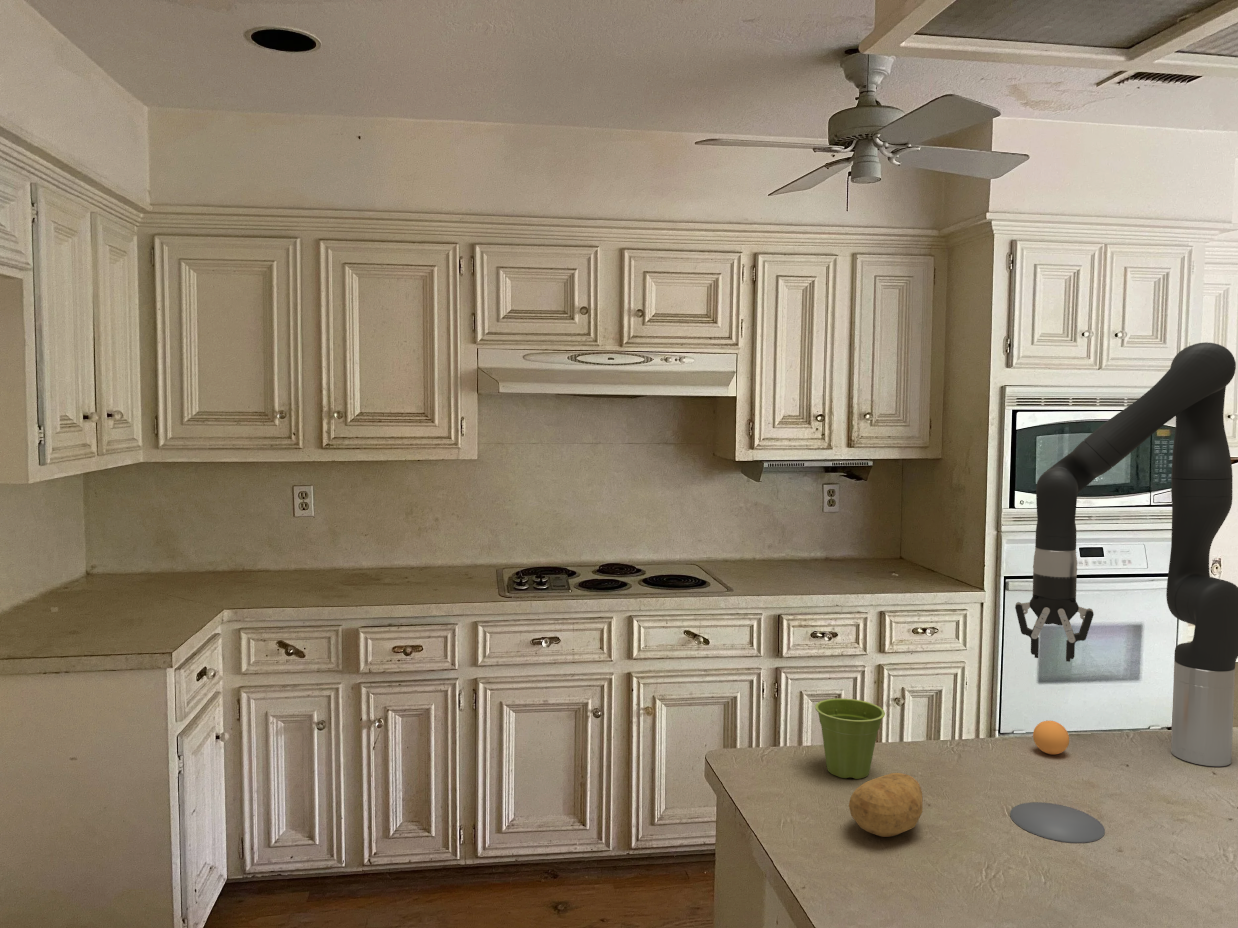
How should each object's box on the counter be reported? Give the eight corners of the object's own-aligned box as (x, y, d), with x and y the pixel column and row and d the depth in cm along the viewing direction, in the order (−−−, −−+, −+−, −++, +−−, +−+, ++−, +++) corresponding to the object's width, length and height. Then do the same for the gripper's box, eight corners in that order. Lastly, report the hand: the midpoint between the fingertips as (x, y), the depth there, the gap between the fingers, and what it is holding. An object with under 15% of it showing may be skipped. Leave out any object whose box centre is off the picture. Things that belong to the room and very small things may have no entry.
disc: (1039, 796, 144) (1039, 795, 144) (1121, 827, 133) (1121, 825, 133) (993, 816, 136) (993, 815, 136) (1075, 851, 126) (1075, 850, 126)
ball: (1043, 744, 166) (1044, 713, 166) (1075, 754, 161) (1076, 722, 161) (1026, 751, 163) (1026, 719, 162) (1057, 762, 158) (1058, 729, 157)
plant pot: (876, 791, 146) (877, 724, 145) (806, 777, 151) (806, 713, 151) (890, 765, 156) (891, 704, 156) (824, 753, 162) (825, 693, 161)
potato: (940, 825, 134) (941, 774, 133) (894, 858, 124) (895, 803, 123) (881, 805, 141) (882, 756, 140) (834, 834, 131) (834, 782, 130)
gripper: (1013, 572, 168) (1011, 659, 169) (1098, 578, 162) (1095, 668, 163) (1014, 565, 175) (1012, 649, 176) (1095, 571, 169) (1093, 658, 170)
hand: (1052, 658), depth 170 cm, fingers open, 5 cm apart
